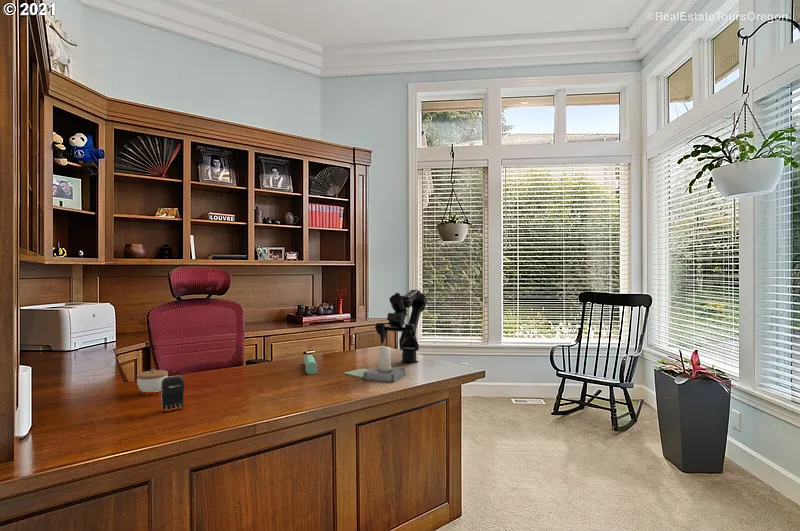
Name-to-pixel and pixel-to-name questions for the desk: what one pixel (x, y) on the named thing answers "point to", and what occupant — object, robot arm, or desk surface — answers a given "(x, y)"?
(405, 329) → the robot arm
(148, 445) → the desk surface
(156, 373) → the lidded jar
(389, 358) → the end plug
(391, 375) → the flange
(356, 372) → the felt pad
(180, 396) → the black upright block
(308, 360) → the green faceted rod
